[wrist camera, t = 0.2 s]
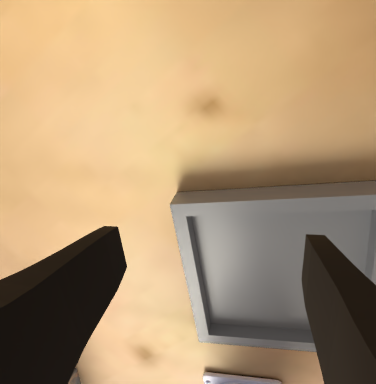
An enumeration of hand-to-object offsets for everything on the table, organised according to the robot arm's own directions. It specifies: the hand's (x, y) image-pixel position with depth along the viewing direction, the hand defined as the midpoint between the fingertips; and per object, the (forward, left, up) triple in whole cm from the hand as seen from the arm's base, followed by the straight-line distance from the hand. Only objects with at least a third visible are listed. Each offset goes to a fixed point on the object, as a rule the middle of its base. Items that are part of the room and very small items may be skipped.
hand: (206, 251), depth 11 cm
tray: (-9, -3, -10) cm, 14 cm away
